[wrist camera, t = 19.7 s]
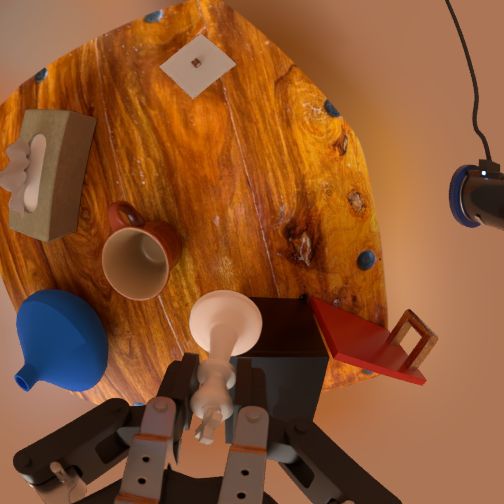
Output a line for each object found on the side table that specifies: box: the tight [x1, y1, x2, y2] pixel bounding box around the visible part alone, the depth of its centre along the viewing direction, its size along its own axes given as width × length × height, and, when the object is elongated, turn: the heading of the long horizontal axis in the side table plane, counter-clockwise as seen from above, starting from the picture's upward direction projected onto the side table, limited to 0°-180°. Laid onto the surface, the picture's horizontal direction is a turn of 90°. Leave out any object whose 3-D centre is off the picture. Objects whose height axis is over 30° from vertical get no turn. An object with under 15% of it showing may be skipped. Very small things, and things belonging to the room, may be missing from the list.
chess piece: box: [189, 290, 262, 445], centre depth 14 cm, size 5×5×10 cm
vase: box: [15, 290, 108, 392], centre depth 34 cm, size 18×18×19 cm
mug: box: [101, 201, 182, 301], centre depth 34 cm, size 12×9×10 cm
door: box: [310, 297, 438, 385], centre depth 35 cm, size 7×16×15 cm, turn 64°
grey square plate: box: [160, 34, 236, 99], centre depth 32 cm, size 8×8×2 cm
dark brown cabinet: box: [225, 297, 329, 444], centre depth 37 cm, size 11×16×15 cm
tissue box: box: [0, 109, 97, 243], centre depth 29 cm, size 19×10×16 cm, turn 165°
